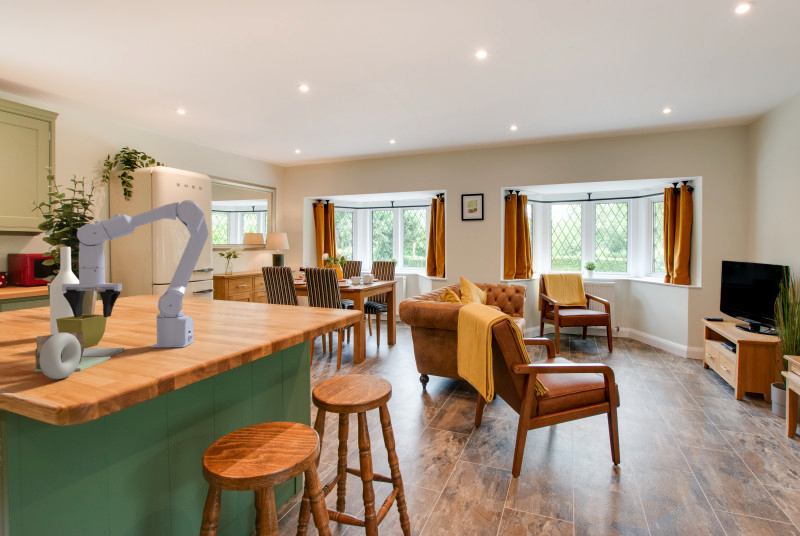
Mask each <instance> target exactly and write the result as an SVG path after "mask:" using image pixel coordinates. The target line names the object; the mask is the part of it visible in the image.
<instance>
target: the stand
mask: <svg viewBox="0 0 800 536" xmlns="http://www.w3.org/2000/svg"><path fill="white" fill-rule="evenodd" d="M123 352H125V347H105V348H104V347H103V348H99V347H96V348H93V347H91V348H89V347H88V348H84V351H83V355H82V357H112V356H114V355H117V354H120V353H123Z"/></svg>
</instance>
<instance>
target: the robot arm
mask: <svg viewBox="0 0 800 536" xmlns="http://www.w3.org/2000/svg"><path fill="white" fill-rule="evenodd" d="M166 219H168V220H172V221H177V219H178V220H179V221H180V222H181V223H182V225H184V226H185V227H186V229H187V231H188V233H189V234H190V237H189V239H188V241H187V243H186V245H185V248H184V251H183V253H182V255H181V257H180V260H179V261H178V265H177V266H176V269H175V271H174V273H173V276H172V278H171V281H170V283H169V284H168V286H167V289H166V291H165V292H164V294H162V295H161V296H160V297H159V299H158V303H157V309H158V311H159V313H158V314H156V343H155V344H152V345H150V348H151V349H152V348H153V349H154V348H157V349H160V348H184V347H187V346H189V345H191V344H193V343H195V339H194V334H195V333H194V331H195V330H194V319H193V317H192V316H191V315H190V316H189V315H185V312H183V311H182V310H183V298H184V295H185V293H186V290H187V286H188V285H189V281H190V280H191V277H192V275H193V273H194V270H195V268H196V266H197V263H198V261H199V258H200V256H201V254H202V251H203V249H204V247H205V245H206V242H207V240H208V237H209V234H210V233H209V229H208V226H207V222H206V217H205V213H204V211H203V209H202V208H201V206H200V205H199V204H198V203H197V202H196V201H194V200H191V199H188V200H187V199H186V200H182V201H181V202H178V201H177V202H176V201H175V202H172V203H168V204H165V205H162V206H159V207H158V206H157V207H156V208H152V209H150V210H147V211H144V212H142V213H138V214H136V215H132V216H129V215H127V214H124V213H122V214H119V213H116V214H113V217H110V218H107V219H104V220H98V219H97V220H95V221H94V223H85V224H84V225H82V226H81V227H79V228H78V230H77V231H76V236H77V239H78V240H79V245H78V249H79V250H78V280H79V284H62V291H67V292H66V293H63V296H64V297H65V298H66V300H67V301H68V303H69V304H70V306H71V309H72V311H73V314H74V318H76V317H82V315H83V309H84V308H83V303H84V297H85V294H86V292H92V291H93V292H96V291H97V292H98V291H99V295H100V298H101V302H102V315H103V316H104V317H107V318H109V317H111V316H112V313H113V309H114V305H115V303H116V301H117V300H118V298H119V296H121V291H122V290H123V283H106V260H105V255H106V254H105V253H106V252H105V251H104V250H105V249H104V247H105V246H104V243H105V242H106V241H109V242H110V241H113V240H115V239H118V238H122V237H126V236H129V235H131V234H134V232H135V231H136V228H139V227H141V226H145V225H147V224H148V225H149V224H152V223H153V222H154V223H155V222H158V221H161V220H166Z"/></svg>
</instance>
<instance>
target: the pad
mask: <svg viewBox="0 0 800 536" xmlns="http://www.w3.org/2000/svg"><path fill="white" fill-rule="evenodd" d="M108 360H111V356H109V357H82V358H81V362H80V363H79V364H78V366H77V368H76V369H75V371H76V372H77V371H81V372H82V371H84V370H86V369H88V368H91V367H93V366H96V365H98V364H101V363H104V362H107V361H108ZM75 371H74V372H75ZM33 372H34V373H35V372H36V373H37V372H42V373H43V371H42V369H36V368H34V371H33Z"/></svg>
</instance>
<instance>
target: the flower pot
mask: <svg viewBox="0 0 800 536" xmlns="http://www.w3.org/2000/svg"><path fill="white" fill-rule="evenodd" d="M107 319H108V317H104V316H103V314H91V313H90V314H85V313H84V314H82V317H76V318H74V316H71V317H63V318H57V319H56V322H57V327H58V332H59V333H76V332H83V338H84V346H85V347H84V349H86V348H89V347H92V346H97V345H99V343H100V342H101V340H102V339H103V336H104V335H105V332H106V326H107Z"/></svg>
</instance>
